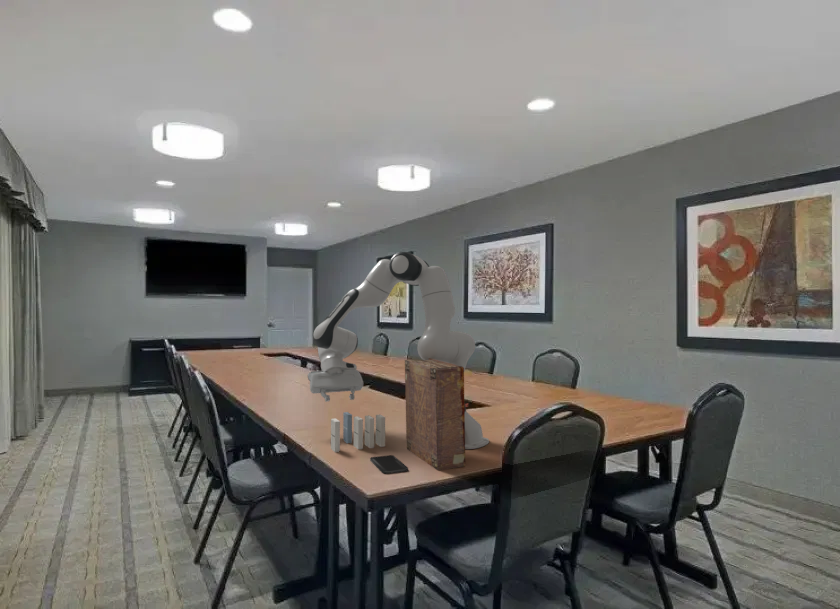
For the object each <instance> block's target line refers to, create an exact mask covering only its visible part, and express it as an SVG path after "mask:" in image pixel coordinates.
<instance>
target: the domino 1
mask: <svg viewBox="0 0 840 609" xmlns="http://www.w3.org/2000/svg"><path fill="white" fill-rule="evenodd" d="M340 442H341V421H340V420H339V419H337V418H336V417H335V418H331V419H330V450H332V452H334V453H340V452H339V451H340V450H341V447H340V445H341V443H340Z"/></svg>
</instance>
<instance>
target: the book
mask: <svg viewBox="0 0 840 609" xmlns="http://www.w3.org/2000/svg"><path fill="white" fill-rule="evenodd" d="M404 381H405V382H404V387H405V388H404V389H405V394H404V396H405V424H406V425H405V427H406V428H405V431H406V434H405V435H406V440H405V441H406V449H407V450H408V451H410V452H411V453H412V454H413V455H415V456H417V457H418V458H419V459H420V460H422V461H424V462H425V463H426V464H428V465H429V466H431V468H434V469H435V470H436V471H443V470H449V469H457V468H461V467H462V468H463V467H466V449H465V408H464V403H465V371H464V367H462V366H458V365H454V364H450V363H447V362H443V361H439V360H435V359H431V358H429V359H428V360H423V359H421V360H408V359H405V360H404Z"/></svg>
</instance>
